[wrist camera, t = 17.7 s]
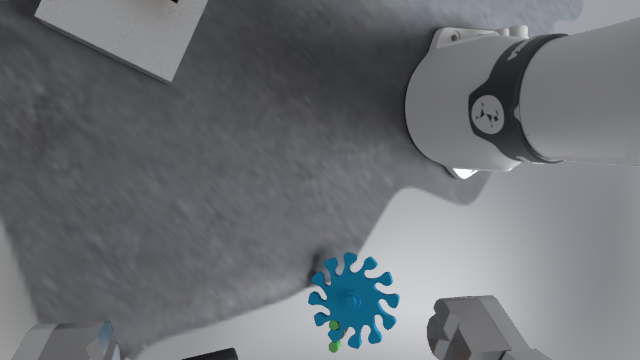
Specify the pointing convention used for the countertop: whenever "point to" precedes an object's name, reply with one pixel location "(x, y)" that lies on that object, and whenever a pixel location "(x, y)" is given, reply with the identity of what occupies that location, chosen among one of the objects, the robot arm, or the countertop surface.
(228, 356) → the ammunition clip
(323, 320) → the gear
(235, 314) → the countertop surface
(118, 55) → the block with square hole
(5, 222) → the countertop surface
